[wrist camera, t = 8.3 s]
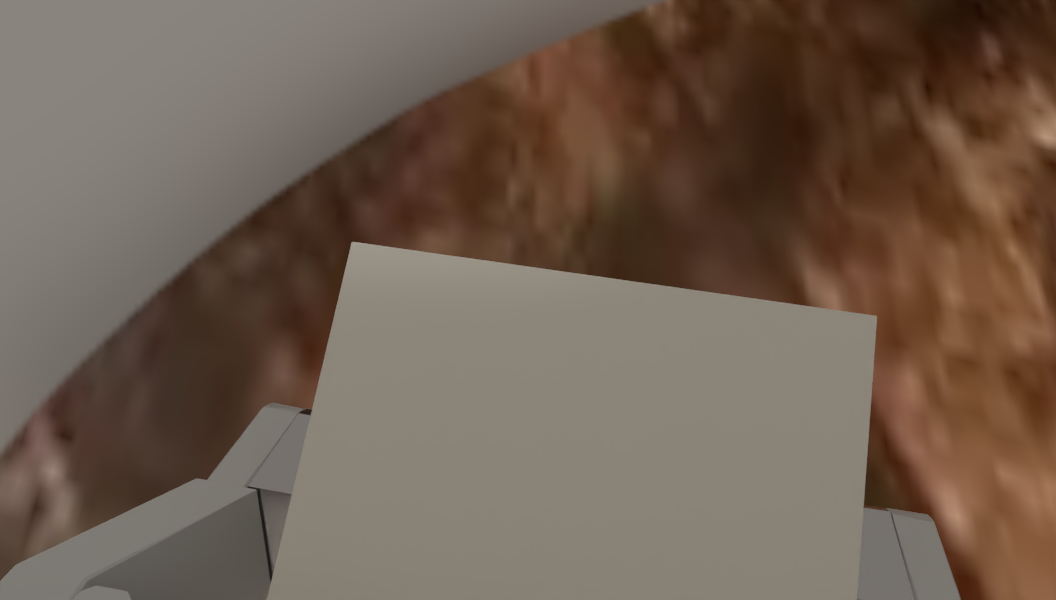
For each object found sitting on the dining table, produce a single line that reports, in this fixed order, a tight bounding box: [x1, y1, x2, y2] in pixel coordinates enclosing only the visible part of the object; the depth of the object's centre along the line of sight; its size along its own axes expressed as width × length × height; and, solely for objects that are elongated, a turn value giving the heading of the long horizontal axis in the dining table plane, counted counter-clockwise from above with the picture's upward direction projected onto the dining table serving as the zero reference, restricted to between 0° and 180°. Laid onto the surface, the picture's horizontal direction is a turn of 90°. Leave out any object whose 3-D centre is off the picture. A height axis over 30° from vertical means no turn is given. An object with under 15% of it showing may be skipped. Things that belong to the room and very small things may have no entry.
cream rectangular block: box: [267, 242, 877, 600], centre depth 11 cm, size 6×6×8 cm
